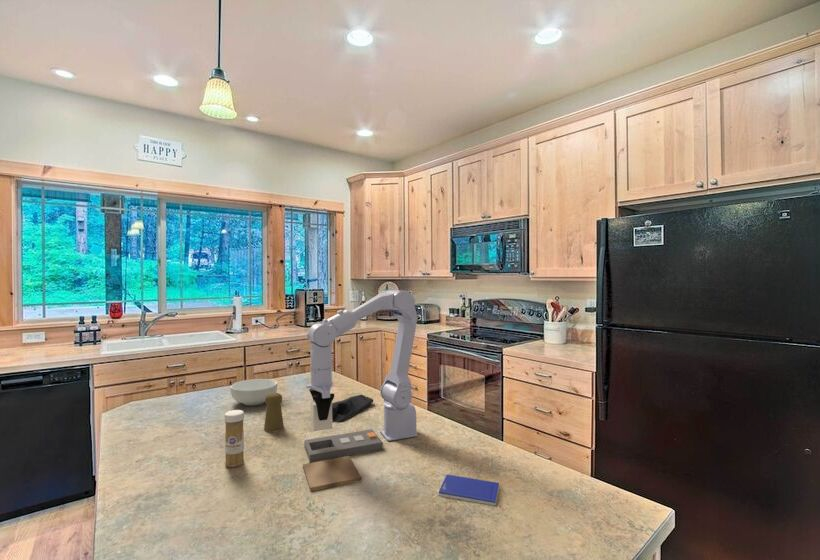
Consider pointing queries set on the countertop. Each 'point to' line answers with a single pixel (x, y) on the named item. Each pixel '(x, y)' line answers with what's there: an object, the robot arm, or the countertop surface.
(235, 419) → the sprinkles bottle
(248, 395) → the cereal bowl
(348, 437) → the power strip
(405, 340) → the robot arm
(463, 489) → the hard drive
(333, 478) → the coaster
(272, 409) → the cork
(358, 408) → the dark slate chunk
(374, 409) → the countertop surface
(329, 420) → the block
